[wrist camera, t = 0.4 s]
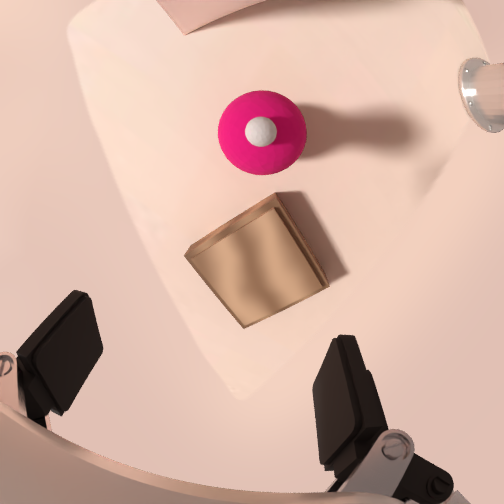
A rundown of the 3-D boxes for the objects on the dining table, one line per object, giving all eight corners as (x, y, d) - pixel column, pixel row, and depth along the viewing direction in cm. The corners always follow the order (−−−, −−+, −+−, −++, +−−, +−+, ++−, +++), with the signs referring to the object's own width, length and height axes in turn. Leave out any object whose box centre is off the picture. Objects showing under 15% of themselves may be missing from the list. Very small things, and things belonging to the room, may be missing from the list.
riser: (275, 192, 35) (276, 199, 31) (325, 274, 39) (330, 288, 36) (190, 245, 39) (182, 257, 35) (245, 315, 43) (243, 331, 39)
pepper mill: (306, 135, 32) (353, 135, 13) (266, 173, 34) (261, 221, 16) (264, 95, 30) (258, 45, 12) (224, 135, 32) (168, 137, 14)
